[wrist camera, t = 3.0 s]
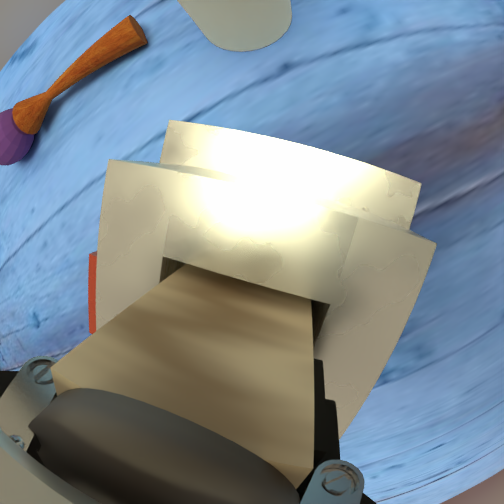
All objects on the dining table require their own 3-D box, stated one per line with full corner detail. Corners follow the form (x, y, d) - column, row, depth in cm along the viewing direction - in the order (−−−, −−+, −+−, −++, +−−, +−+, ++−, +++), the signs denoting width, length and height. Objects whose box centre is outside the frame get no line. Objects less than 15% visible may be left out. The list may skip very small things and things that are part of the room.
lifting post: (316, 243, 19) (358, 505, 2) (291, 323, 20) (253, 570, 4) (229, 220, 19) (-5, 359, 3) (211, 299, 21) (63, 496, 5)
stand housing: (415, 183, 18) (513, 190, 7) (337, 388, 23) (345, 494, 12) (176, 122, 20) (74, 85, 9) (143, 331, 25) (69, 405, 14)
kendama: (136, 44, 15) (-15, 180, 18) (161, 62, 21) (20, 170, 24) (113, -5, 13) (-29, 134, 16) (140, 18, 19) (6, 129, 22)
